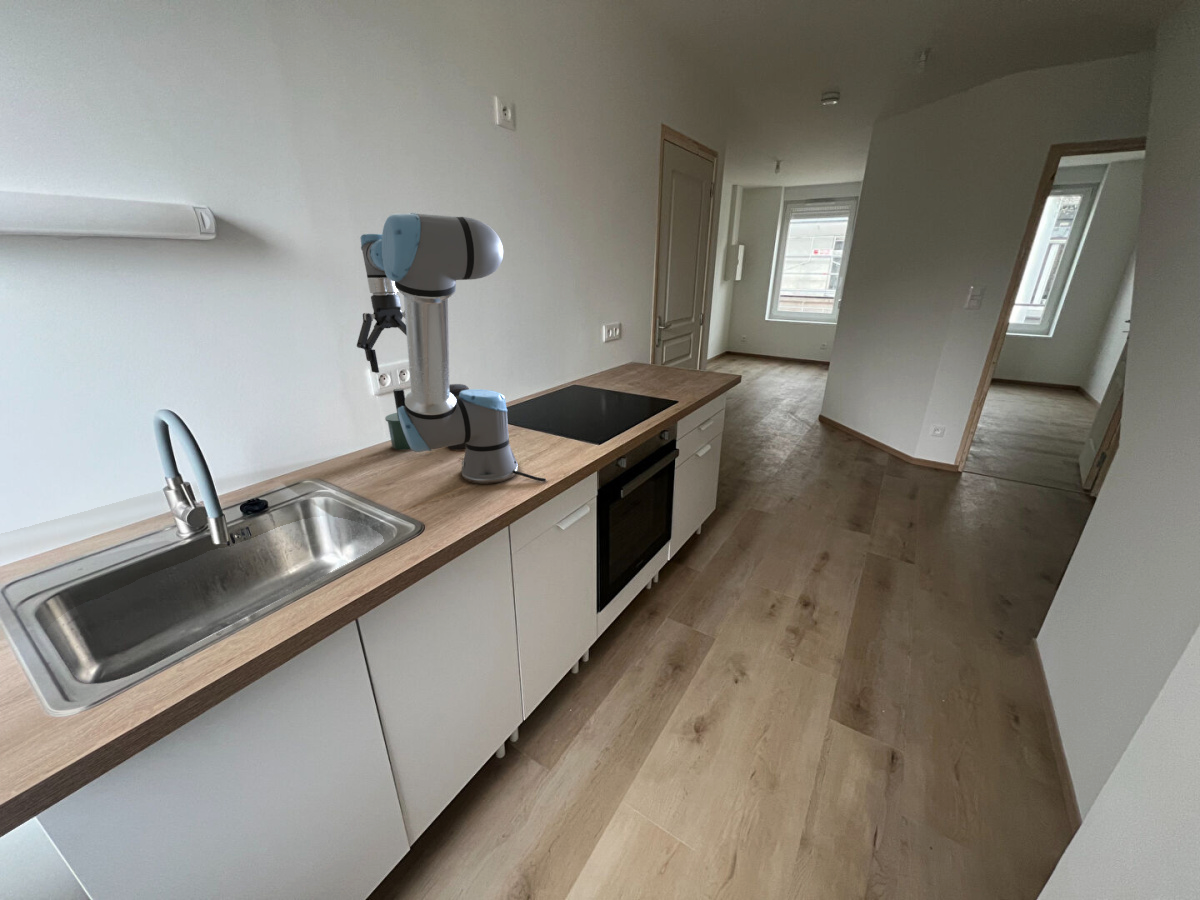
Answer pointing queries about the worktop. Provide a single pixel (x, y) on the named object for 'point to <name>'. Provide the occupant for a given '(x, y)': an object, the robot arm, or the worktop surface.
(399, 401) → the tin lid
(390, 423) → the tin
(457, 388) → the container
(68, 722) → the worktop surface
